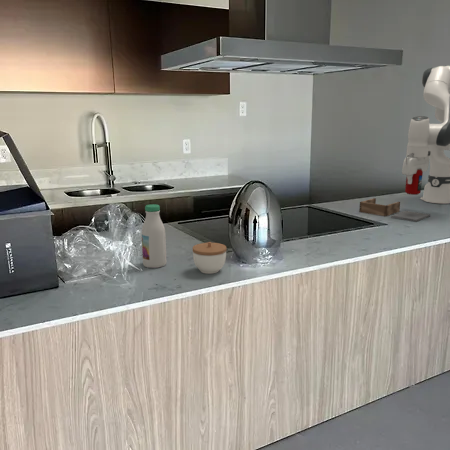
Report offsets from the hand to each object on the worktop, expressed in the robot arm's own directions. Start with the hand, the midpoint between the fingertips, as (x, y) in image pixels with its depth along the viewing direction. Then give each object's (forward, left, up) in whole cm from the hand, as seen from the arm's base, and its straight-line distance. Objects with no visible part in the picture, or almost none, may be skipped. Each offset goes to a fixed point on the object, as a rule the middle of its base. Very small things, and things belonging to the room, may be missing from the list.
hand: (413, 182), depth 215 cm
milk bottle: (+126, -30, -16) cm, 131 cm away
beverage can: (0, 0, -5) cm, 5 cm away
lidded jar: (+117, -13, -16) cm, 119 cm away
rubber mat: (0, 0, -16) cm, 16 cm away
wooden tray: (0, -16, -16) cm, 23 cm away
